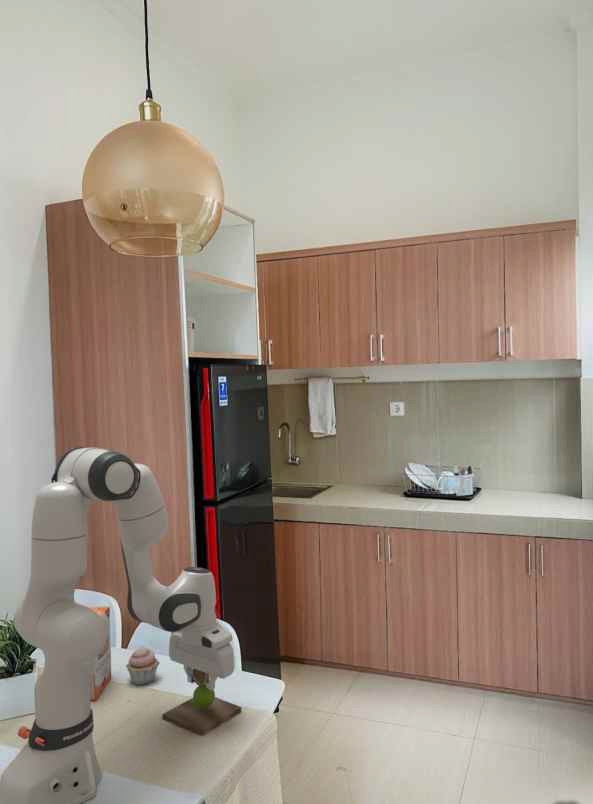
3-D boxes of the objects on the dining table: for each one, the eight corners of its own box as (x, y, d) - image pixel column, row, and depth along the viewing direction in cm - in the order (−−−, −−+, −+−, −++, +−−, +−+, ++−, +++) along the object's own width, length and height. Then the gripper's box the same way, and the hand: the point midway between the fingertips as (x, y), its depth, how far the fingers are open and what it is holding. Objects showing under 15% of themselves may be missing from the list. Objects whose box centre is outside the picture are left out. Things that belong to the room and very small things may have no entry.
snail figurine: (208, 712, 161) (199, 663, 162) (190, 710, 165) (182, 662, 166) (223, 703, 165) (215, 655, 166) (206, 701, 169) (197, 654, 170)
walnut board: (201, 736, 156) (201, 731, 156) (162, 718, 165) (162, 714, 165) (241, 711, 167) (241, 707, 167) (202, 696, 176) (202, 692, 176)
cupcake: (150, 669, 193) (149, 636, 192) (165, 680, 186) (164, 646, 185) (120, 679, 187) (119, 645, 187) (134, 691, 180) (133, 655, 179)
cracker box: (97, 701, 175) (94, 623, 174) (75, 701, 175) (71, 624, 174) (113, 677, 189) (110, 605, 188) (92, 677, 189) (89, 605, 188)
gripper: (162, 626, 169) (164, 679, 170) (219, 644, 156) (221, 701, 157) (180, 618, 174) (182, 670, 175) (237, 635, 161) (239, 691, 162)
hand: (201, 685), depth 166 cm, fingers closed on snail figurine, 5 cm apart
